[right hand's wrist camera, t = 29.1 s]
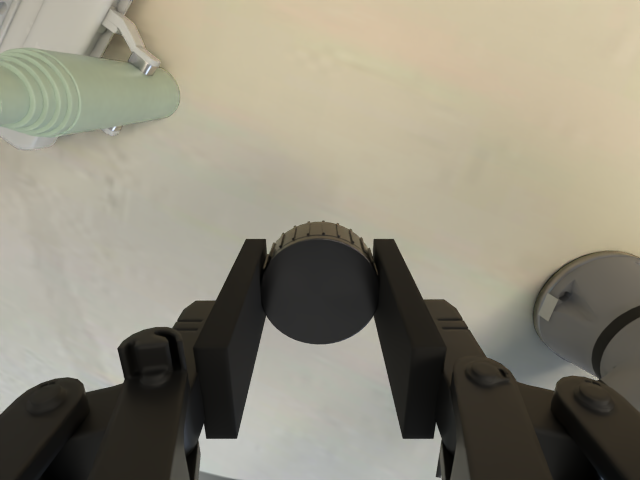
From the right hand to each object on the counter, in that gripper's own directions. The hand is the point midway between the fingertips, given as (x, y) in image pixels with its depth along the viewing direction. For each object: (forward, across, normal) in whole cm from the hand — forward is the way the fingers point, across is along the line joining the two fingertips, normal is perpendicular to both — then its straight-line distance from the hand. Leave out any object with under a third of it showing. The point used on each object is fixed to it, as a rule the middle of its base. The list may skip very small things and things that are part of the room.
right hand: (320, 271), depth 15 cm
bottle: (+29, +17, -6) cm, 34 cm away
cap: (-2, 0, 0) cm, 2 cm away
